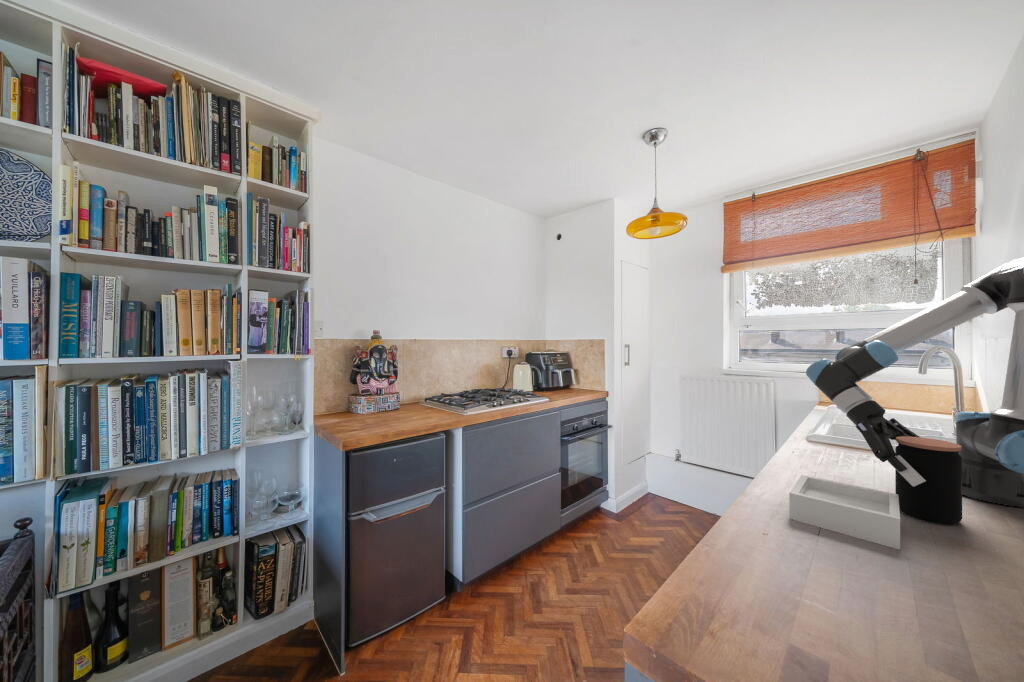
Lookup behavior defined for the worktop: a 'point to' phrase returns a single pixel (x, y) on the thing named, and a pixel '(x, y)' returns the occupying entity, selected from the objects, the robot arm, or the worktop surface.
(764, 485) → the worktop surface
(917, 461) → the coffee jar
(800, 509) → the white square tray
